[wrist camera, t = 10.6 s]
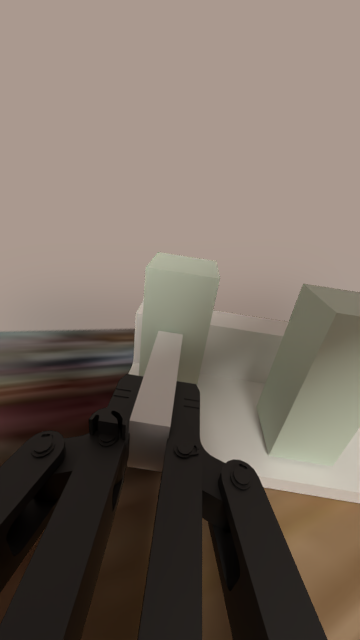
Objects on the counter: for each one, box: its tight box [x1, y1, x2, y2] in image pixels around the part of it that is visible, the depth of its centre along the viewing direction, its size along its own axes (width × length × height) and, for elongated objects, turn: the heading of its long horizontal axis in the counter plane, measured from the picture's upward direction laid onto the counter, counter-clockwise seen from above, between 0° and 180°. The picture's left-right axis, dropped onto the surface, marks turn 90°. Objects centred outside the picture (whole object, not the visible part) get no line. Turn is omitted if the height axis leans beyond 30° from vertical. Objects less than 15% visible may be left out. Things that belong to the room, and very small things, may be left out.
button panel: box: [129, 300, 360, 503], centre depth 18 cm, size 25×12×6 cm, turn 85°
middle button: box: [256, 284, 360, 466], centre depth 15 cm, size 4×4×10 cm
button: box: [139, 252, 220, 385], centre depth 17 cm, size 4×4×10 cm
